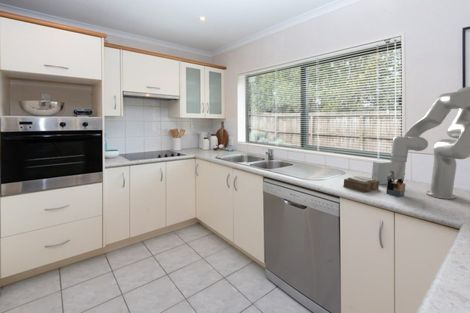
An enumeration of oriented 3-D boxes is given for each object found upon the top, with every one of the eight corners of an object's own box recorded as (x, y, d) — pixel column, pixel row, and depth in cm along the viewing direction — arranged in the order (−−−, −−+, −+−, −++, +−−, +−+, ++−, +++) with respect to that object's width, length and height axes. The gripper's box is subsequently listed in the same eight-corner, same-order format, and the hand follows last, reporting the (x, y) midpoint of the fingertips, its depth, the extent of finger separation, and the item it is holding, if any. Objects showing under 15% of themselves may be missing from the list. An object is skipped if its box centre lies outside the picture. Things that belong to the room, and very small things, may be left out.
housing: (390, 192, 143) (392, 180, 142) (404, 195, 137) (405, 183, 136) (386, 193, 141) (387, 182, 140) (399, 197, 135) (401, 184, 134)
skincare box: (381, 182, 167) (383, 160, 164) (388, 184, 161) (390, 162, 159) (370, 182, 165) (372, 161, 163) (377, 185, 159) (379, 162, 157)
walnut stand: (356, 183, 162) (357, 175, 161) (378, 189, 150) (379, 179, 149) (343, 186, 154) (344, 177, 154) (365, 192, 143) (365, 182, 142)
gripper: (399, 157, 144) (395, 185, 146) (383, 158, 135) (379, 188, 137) (413, 159, 137) (409, 188, 140) (398, 160, 128) (393, 192, 131)
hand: (394, 188), depth 138 cm, fingers open, 9 cm apart
